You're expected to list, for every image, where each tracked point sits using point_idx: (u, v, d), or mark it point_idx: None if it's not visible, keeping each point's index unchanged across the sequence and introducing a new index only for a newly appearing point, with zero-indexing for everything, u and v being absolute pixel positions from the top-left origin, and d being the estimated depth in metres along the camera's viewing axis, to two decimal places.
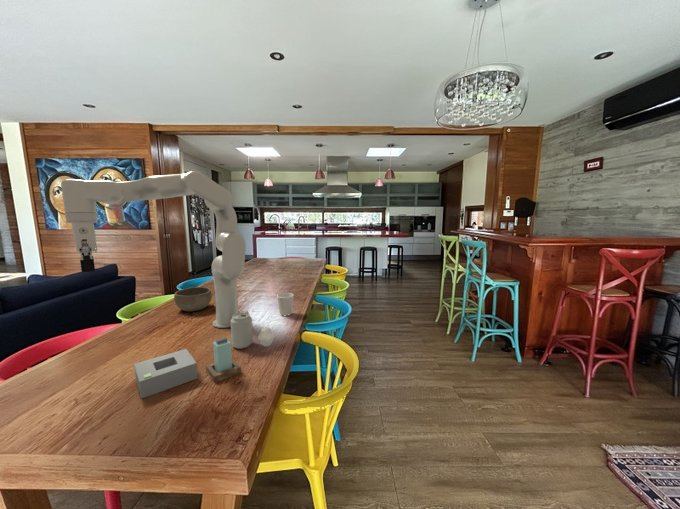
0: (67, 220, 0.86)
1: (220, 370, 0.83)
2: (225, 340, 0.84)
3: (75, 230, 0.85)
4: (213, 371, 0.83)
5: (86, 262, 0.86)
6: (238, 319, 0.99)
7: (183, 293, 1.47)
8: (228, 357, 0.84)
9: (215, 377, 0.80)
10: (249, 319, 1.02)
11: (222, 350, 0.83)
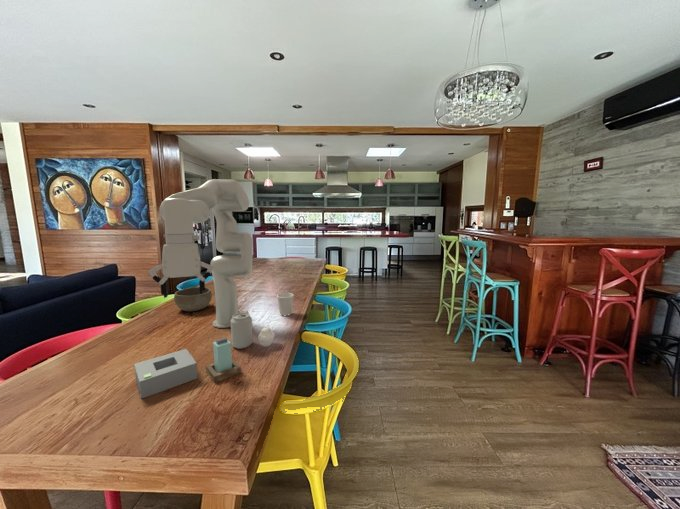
0: (185, 242, 0.80)
1: (220, 370, 0.83)
2: (225, 340, 0.84)
3: (197, 252, 0.83)
4: (213, 371, 0.83)
5: (204, 283, 0.86)
6: (238, 319, 0.99)
7: (183, 293, 1.47)
8: (228, 357, 0.84)
9: (215, 377, 0.80)
10: (249, 319, 1.02)
11: (222, 350, 0.83)
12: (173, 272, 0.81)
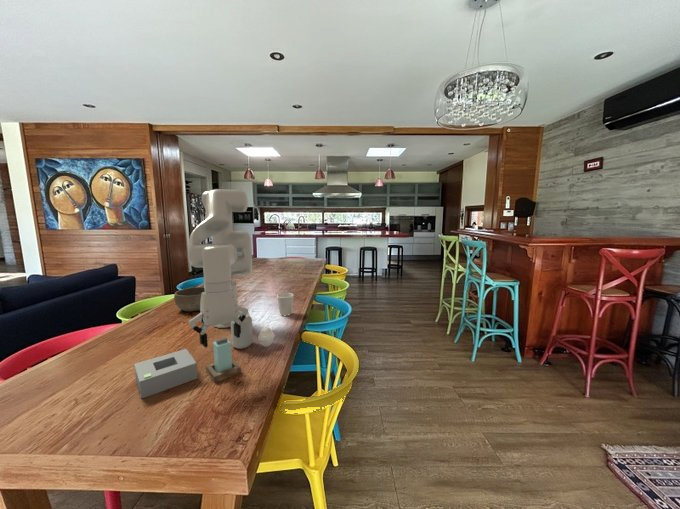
0: (227, 289, 0.80)
1: (220, 370, 0.83)
2: (225, 340, 0.84)
3: (235, 297, 0.84)
4: (213, 371, 0.83)
5: None
6: None
7: (183, 293, 1.47)
8: (228, 357, 0.84)
9: (215, 377, 0.80)
10: (249, 319, 1.02)
11: (222, 350, 0.83)
12: (214, 321, 0.80)
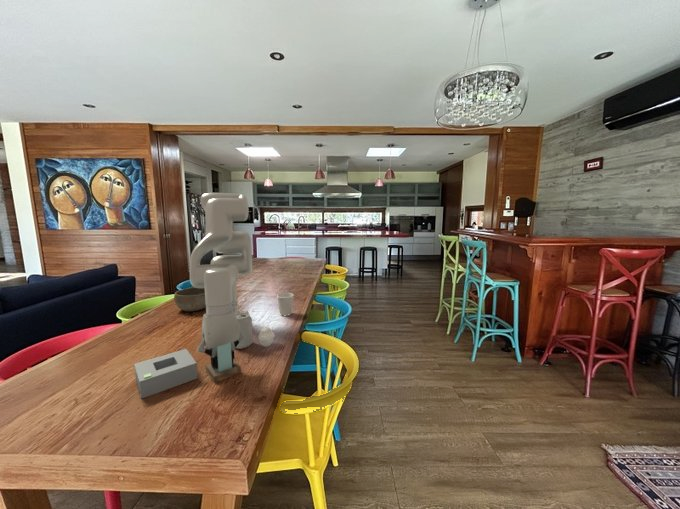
0: (229, 312, 0.81)
1: (220, 370, 0.83)
2: None
3: (236, 318, 0.85)
4: (213, 371, 0.83)
5: None
6: (238, 319, 0.99)
7: (183, 293, 1.47)
8: (228, 357, 0.84)
9: (215, 377, 0.80)
10: (249, 319, 1.02)
11: (222, 350, 0.83)
12: (216, 342, 0.81)
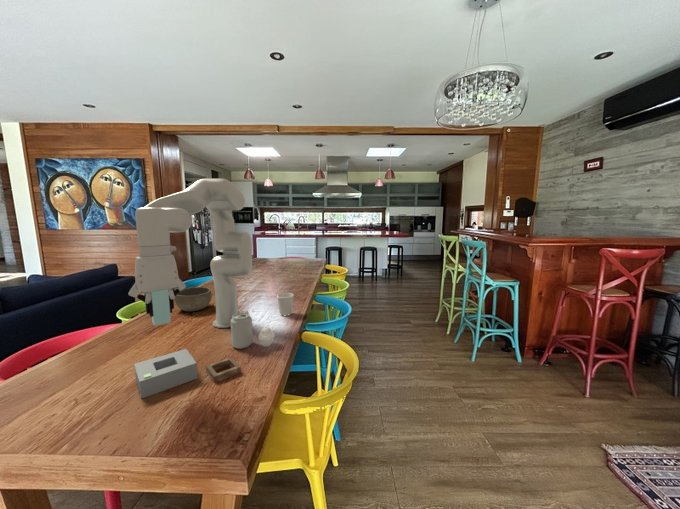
0: (164, 254, 0.76)
1: (156, 318, 0.77)
2: None
3: (175, 263, 0.79)
4: (213, 371, 0.83)
5: None
6: (238, 319, 0.99)
7: (183, 293, 1.47)
8: (165, 305, 0.78)
9: (215, 377, 0.80)
10: (249, 319, 1.02)
11: (158, 296, 0.77)
12: (150, 287, 0.75)
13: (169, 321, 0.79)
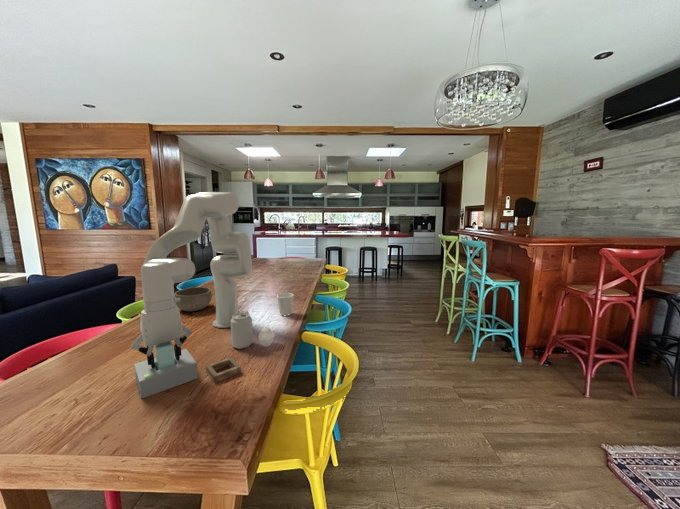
0: (168, 308, 0.78)
1: None
2: (167, 342, 0.81)
3: (179, 314, 0.81)
4: (213, 371, 0.83)
5: None
6: (238, 319, 0.99)
7: (183, 293, 1.47)
8: (170, 360, 0.80)
9: (215, 377, 0.80)
10: (249, 319, 1.02)
11: (163, 353, 0.79)
12: (155, 340, 0.77)
13: None
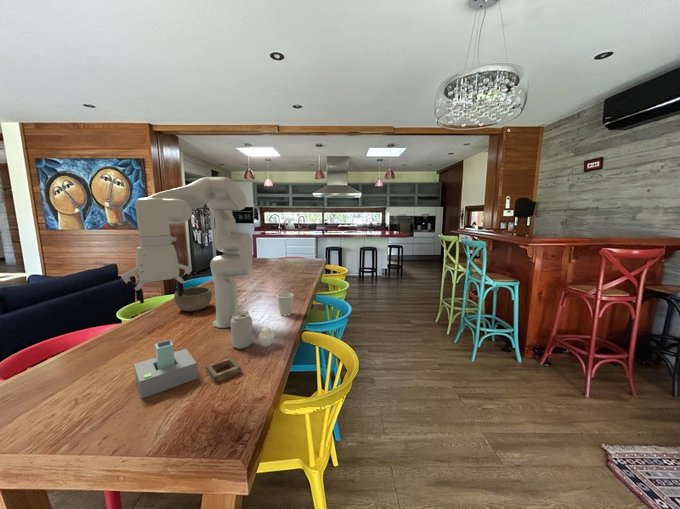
0: (164, 244, 0.77)
1: None
2: (167, 342, 0.81)
3: (175, 253, 0.80)
4: (213, 371, 0.83)
5: None
6: (238, 319, 0.99)
7: (183, 293, 1.47)
8: (170, 360, 0.80)
9: (215, 377, 0.80)
10: (249, 319, 1.02)
11: (163, 352, 0.79)
12: (151, 276, 0.77)
13: None
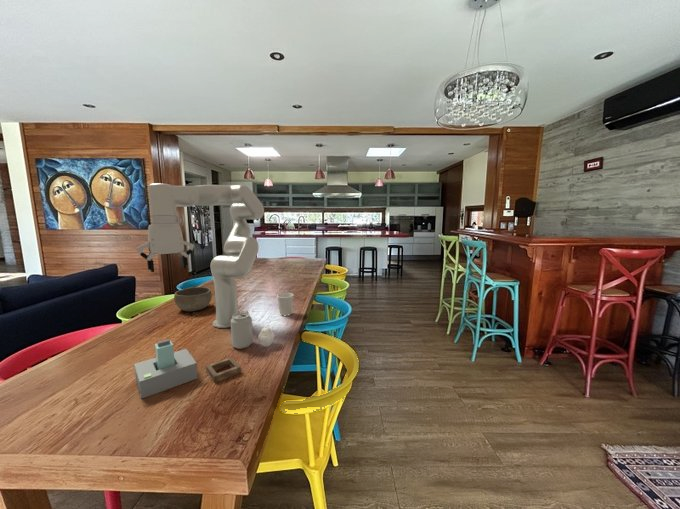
0: (172, 222, 0.92)
1: None
2: (167, 342, 0.81)
3: (181, 231, 0.95)
4: (213, 371, 0.83)
5: None
6: (238, 319, 0.99)
7: (183, 293, 1.47)
8: (170, 360, 0.80)
9: (215, 377, 0.80)
10: (249, 319, 1.02)
11: (163, 352, 0.79)
12: (160, 249, 0.91)
13: None
